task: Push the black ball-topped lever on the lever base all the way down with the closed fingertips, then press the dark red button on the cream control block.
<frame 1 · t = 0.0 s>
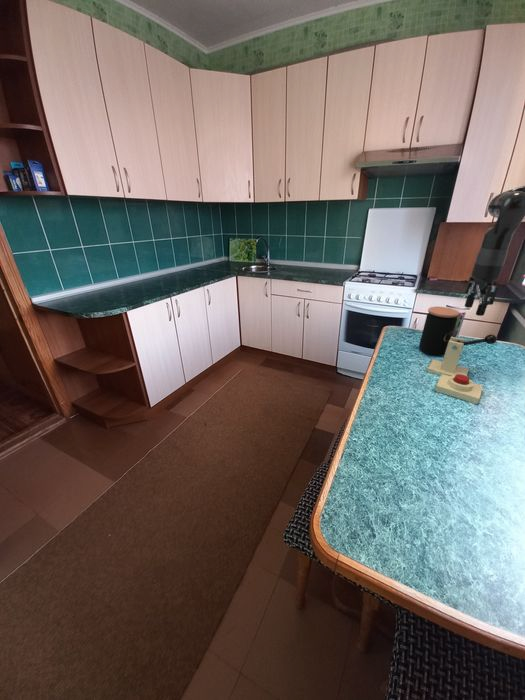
hand: (473, 311, 100), 23 cm above the table, tool pointing down, fingers open, 8 cm apart
black lever: (472, 342, 99), point 13 cm above the table, hinge at 28.0°
lever base: (447, 371, 108), on the table
button block: (457, 391, 97), on the table
coffee jar: (432, 351, 122), on the table, touching candy bar box
cancel button: (461, 379, 95), point 4 cm above the table, slide at 0.1 cm
candy bar box: (438, 346, 127), on the table, touching coffee jar
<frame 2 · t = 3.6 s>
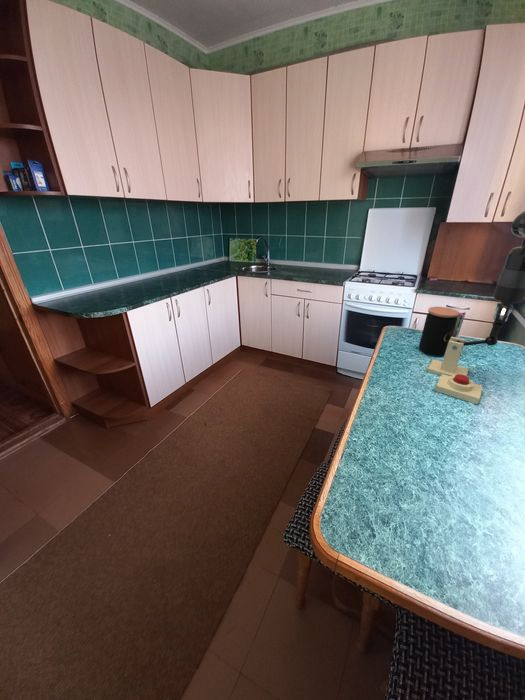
hand: (493, 336, 95), 17 cm above the table, tool pointing down, fingers closed
black lever: (473, 342, 99), point 13 cm above the table, hinge at 24.6°, touching gripper
everything else where it was.
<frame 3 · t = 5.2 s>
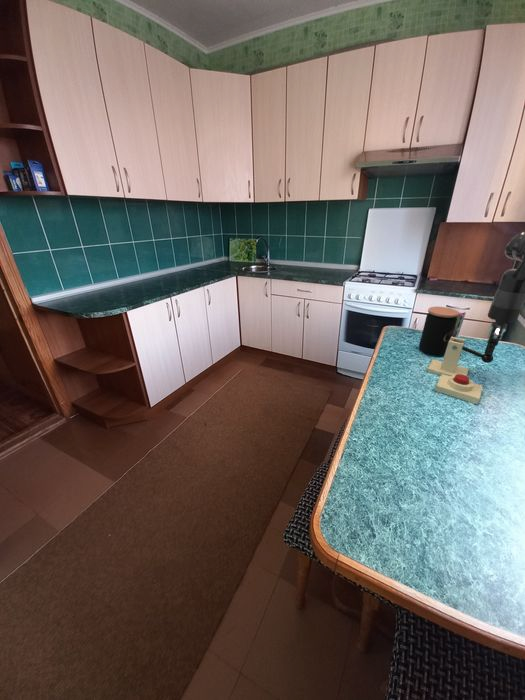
hand: (488, 353, 97), 11 cm above the table, tool pointing down, fingers closed
black lever: (471, 351, 100), point 10 cm above the table, hinge at -12.2°, touching gripper
everything else where it was.
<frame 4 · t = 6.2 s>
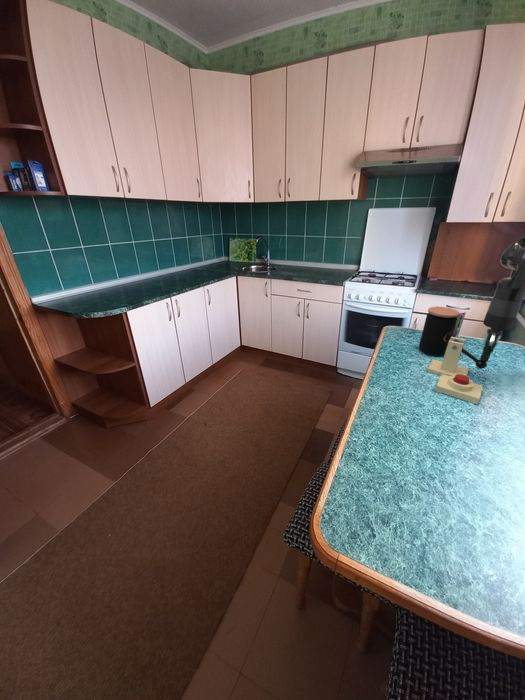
hand: (483, 360, 99), 8 cm above the table, tool pointing down, fingers closed
black lever: (468, 354, 101), point 9 cm above the table, hinge at -28.4°, touching gripper
everything else where it was.
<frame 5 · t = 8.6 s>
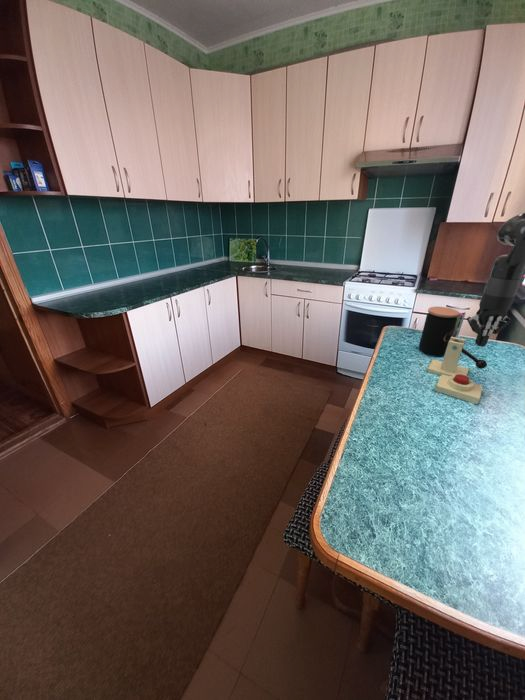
hand: (479, 345, 93), 15 cm above the table, tool pointing down, fingers closed
black lever: (468, 354, 101), point 9 cm above the table, hinge at -28.4°
everything else where it was.
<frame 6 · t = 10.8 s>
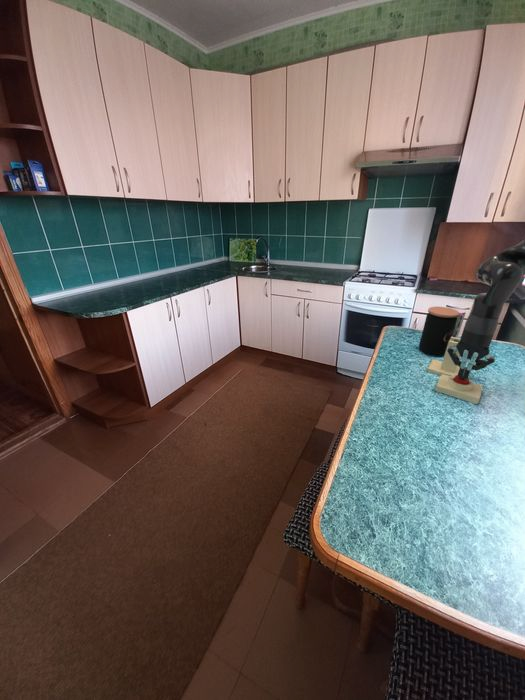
hand: (462, 378, 94), 5 cm above the table, tool pointing down, fingers closed
cancel button: (461, 380, 95), point 4 cm above the table, slide at -0.1 cm, touching gripper
everything else where it was.
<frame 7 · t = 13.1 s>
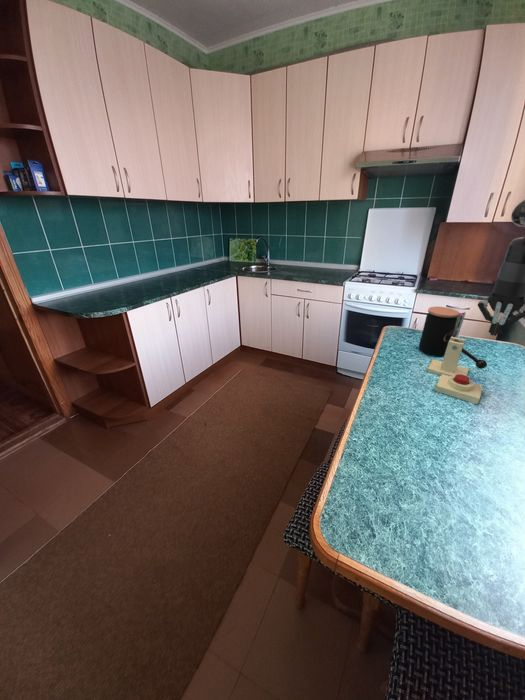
hand: (493, 334, 89), 20 cm above the table, tool pointing down, fingers closed
cancel button: (461, 379, 95), point 4 cm above the table, slide at 0.1 cm
everything else where it was.
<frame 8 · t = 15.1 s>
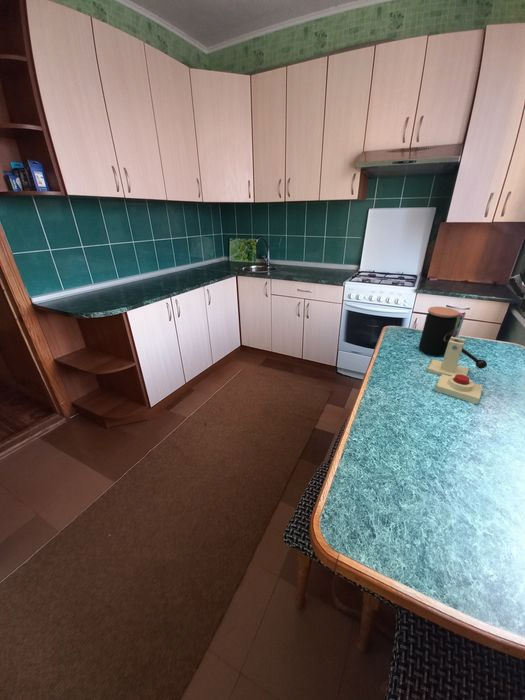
hand: (524, 311, 86), 27 cm above the table, tool pointing down, fingers closed
nothing on the table moved.
at the end: black lever at -28° (first picture: +28°); cancel button pushed in 1.1 cm at the most during the clip, back to where it started at the end; cancel button slide at 0.1 cm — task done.
